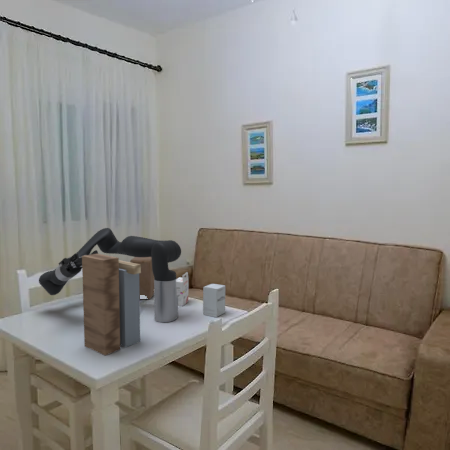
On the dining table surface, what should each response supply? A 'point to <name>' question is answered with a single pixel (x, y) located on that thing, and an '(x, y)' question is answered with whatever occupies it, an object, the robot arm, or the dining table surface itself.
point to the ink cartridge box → (182, 289)
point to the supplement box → (214, 300)
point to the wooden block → (145, 276)
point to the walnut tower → (101, 303)
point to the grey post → (129, 308)
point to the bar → (130, 267)
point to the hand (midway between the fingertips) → (87, 253)
